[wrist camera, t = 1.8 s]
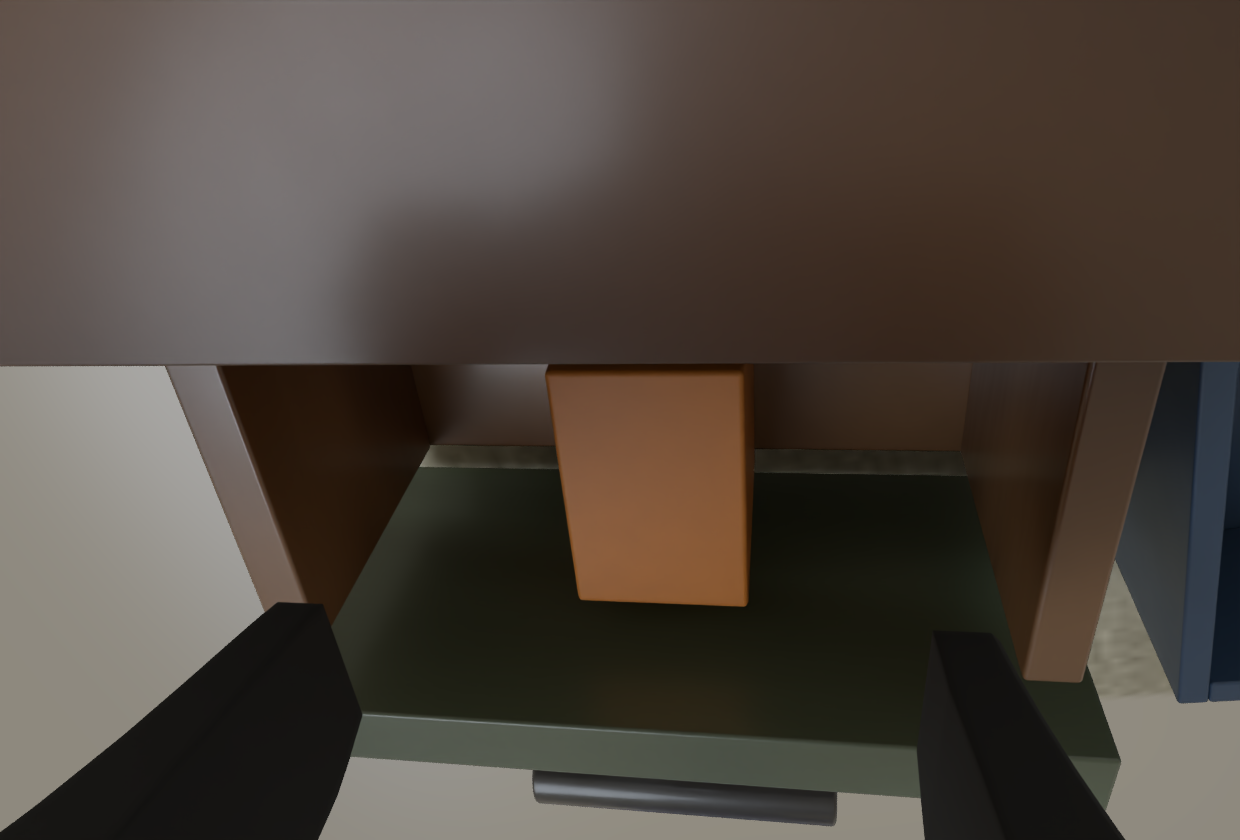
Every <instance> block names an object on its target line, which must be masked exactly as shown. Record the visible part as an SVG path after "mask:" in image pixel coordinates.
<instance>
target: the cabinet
mask: <svg viewBox="0 0 1240 840" xmlns="http://www.w3.org/2000/svg"><path fill="white" fill-rule="evenodd" d="M1077 362H1240V0H0V366H226V365H509V364H793V363H1077Z"/></svg>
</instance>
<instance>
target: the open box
mask: <svg viewBox="0 0 1240 840" xmlns="http://www.w3.org/2000/svg"><path fill="white" fill-rule="evenodd" d="M1115 560H1116V562H1117V564H1118V567H1119V569H1120V571H1121V574H1122V576H1123V578H1124V580H1125V583H1126V585H1127V587H1128V590H1129V592H1130V594H1131V596H1132V599H1133V601H1134V603H1135V606H1136V608H1137V610H1138V612H1139V615H1140V617H1141V619H1142V621H1143V624H1144V626H1145V628H1146V631H1147V633H1148V635H1149V637H1150V640H1151V642H1152V644H1153V647H1154V649H1155V651H1156V653H1157V656H1158V658H1159V660H1160V662H1161V665H1162V667H1163V669H1164V672H1165V674H1166V676H1167V678H1168V681H1169V683H1170V685H1171V688H1172V690H1173V692H1174V694H1175V697H1176V699H1177V701H1178V702H1179V703H1198V702H1207V701H1208V699H1209V700H1210V701H1212V702H1217V701H1235V700H1240V362H1167V365H1166V368H1165V372H1164V376H1163V380H1162V383H1161V387H1160V391H1159V395H1158V398H1157V402H1156V406H1155V410H1154V413H1153V417H1152V421H1151V425H1150V428H1149V432H1148V436H1147V440H1146V443H1145V447H1144V451H1143V455H1142V458H1141V462H1140V466H1139V470H1138V473H1137V477H1136V481H1135V485H1134V489H1133V492H1132V496H1131V500H1130V504H1129V507H1128V511H1127V515H1126V519H1125V522H1124V526H1123V530H1122V534H1121V537H1120V541H1119V545H1118V549H1117V552H1116V556H1115Z"/></svg>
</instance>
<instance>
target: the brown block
mask: <svg viewBox="0 0 1240 840" xmlns="http://www.w3.org/2000/svg"><path fill="white" fill-rule="evenodd" d="M545 380H546V386H547V393H548V399H549V406H550V413H551V419H552V426H553V432H554V439H555V446H556V452H557V459H558V465H559V472H560V478H561V485H562V492H563V498H564V505H565V511H566V518H567V525H568V531H569V538H570V544H571V551H572V557H573V564H574V571H575V577H576V584H577V590H578V596H579V598H580V599H581V600H591V601H615V602H640V603H665V604H690V605H714V606H739V607H744V606H746V605H747V603H748V602H749V579H750V556H751V534H752V511H753V488H754V465H755V448H754V364H549V365H548V367H547V369H546V372H545Z"/></svg>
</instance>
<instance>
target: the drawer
mask: <svg viewBox="0 0 1240 840" xmlns="http://www.w3.org/2000/svg"><path fill="white" fill-rule="evenodd" d="M548 365H549V364H509V365H226V366H165V367H166V370H167V372H168V374H169V377H170V380H171V382H172V385H173V387H174V389H175V392H176V394H177V397H178V399H179V402H180V404H181V407H182V409H183V411H184V414H185V417H186V419H187V422H188V424H189V426H190V429H191V431H192V434H193V436H194V439H195V441H196V444H197V446H198V449H199V451H200V454H201V456H202V459H203V461H204V463H205V466H206V468H207V471H208V473H209V476H210V478H211V481H212V483H213V486H214V488H215V491H216V493H217V496H218V498H219V500H220V503H221V505H222V508H223V510H224V513H225V515H226V518H227V520H228V523H229V525H230V528H231V530H232V532H233V535H234V537H235V540H236V542H237V545H238V547H239V550H240V552H241V555H242V557H243V560H244V562H245V564H246V567H247V569H248V571H249V574H250V577H251V579H252V582H253V584H254V587H255V589H256V592H257V594H258V596H259V599H260V601H261V604H262V606H263V609H264V611H265V612H266V611H267V610H268V609H270V608H271V607H272V606H273V605H274V604H276V603H277V602H291V603H314V604H323V605H324V608H325V611H326V614H327V617H328V619H329V622H330V625H331V628H332V631H333V633H334V636H335V639H336V642H337V644H338V647H339V650H340V653H341V656H342V658H343V661H344V664H345V667H346V670H347V672H348V675H349V678H350V681H351V683H352V686H353V689H354V692H355V695H356V697H357V700H358V703H359V706H360V709H361V711H362V714H363V715H362V719H361V722H360V726H359V729H358V732H357V736H356V739H355V742H354V746H353V749H352V753H351V756H350V757H364V758H377V759H391V760H405V761H418V762H432V763H447V764H459V765H473V766H487V767H502V768H515V769H528V770H533V776H532V777H533V778H532V781H533V792H534V797H535V799H536V801H537V802H538V803H544V804H557V805H571V806H582V807H594V808H595V807H596V808H607V809H620V810H633V811H645V812H658V813H670V814H671V813H672V814H683V815H696V816H708V817H722V818H734V819H746V820H759V821H773V822H784V823H798V824H810V825H822V826H834V825H835V823H836V818H837V792H845V793H858V794H872V795H885V796H899V797H912V798H921V795H920V783H919V772H918V760H917V744H918V736H919V729H920V721H921V714H922V706H923V699H924V691H925V684H926V677H927V669H928V662H929V654H930V647H931V639H932V632H933V630H938V631H961V632H984V633H992V634H993V635H994V636H995V637H996V638H997V639H998V640H999V641H1000V642H1001V644H1002V646H1003V647H1004V649H1005V651H1006V653H1007V655H1008V657H1009V659H1010V661H1011V662H1012V664H1013V666H1014V668H1015V670H1016V671H1017V673H1018V675H1019V677H1020V678H1021V680H1022V682H1023V684H1024V685H1025V687H1026V689H1027V691H1028V692H1029V694H1030V696H1031V697H1032V699H1033V701H1034V702H1035V704H1036V706H1037V707H1038V709H1039V711H1040V712H1041V714H1042V716H1043V717H1044V719H1045V720H1046V722H1047V724H1048V725H1049V727H1050V729H1051V730H1052V732H1053V733H1054V735H1055V737H1056V738H1057V740H1058V741H1059V743H1060V745H1061V746H1062V748H1063V749H1064V751H1065V752H1066V754H1067V755H1068V757H1069V758H1070V760H1071V761H1072V763H1073V765H1074V766H1075V768H1076V769H1077V771H1078V772H1079V774H1080V775H1081V777H1082V778H1083V779H1084V781H1085V782H1086V784H1087V785H1088V787H1089V788H1090V790H1091V791H1092V793H1093V794H1094V795H1095V797H1096V798H1097V800H1098V801H1099V803H1100V804H1101V806H1102V807H1103V809H1104V810H1106V808H1107V805H1108V802H1109V799H1110V795H1111V792H1112V789H1113V786H1114V783H1115V780H1116V777H1117V774H1118V770H1119V767H1120V764H1121V759H1120V756H1119V754H1118V751H1117V748H1116V745H1115V743H1114V739H1113V737H1112V734H1111V731H1110V728H1109V725H1108V722H1107V720H1106V717H1105V714H1104V711H1103V708H1102V705H1101V703H1100V700H1099V697H1098V694H1097V691H1096V688H1095V686H1094V683H1093V680H1092V677H1091V674H1090V671H1089V669H1088V666H1087V661H1088V658H1089V654H1090V650H1091V646H1092V643H1093V639H1094V635H1095V631H1096V628H1097V624H1098V620H1099V616H1100V612H1101V609H1102V605H1103V601H1104V597H1105V594H1106V590H1107V586H1108V582H1109V579H1110V575H1111V571H1112V567H1113V564H1114V560H1115V556H1116V552H1117V549H1118V545H1119V541H1120V537H1121V534H1122V530H1123V526H1124V522H1125V519H1126V515H1127V511H1128V507H1129V504H1130V500H1131V496H1132V492H1133V489H1134V485H1135V481H1136V477H1137V473H1138V470H1139V466H1140V462H1141V458H1142V455H1143V451H1144V447H1145V443H1146V440H1147V436H1148V432H1149V428H1150V425H1151V421H1152V417H1153V413H1154V410H1155V406H1156V402H1157V398H1158V395H1159V391H1160V387H1161V383H1162V380H1163V376H1164V372H1165V368H1166V365H1167V362H1077V363H793V364H754V448H755V449H809V450H893V451H961V455H962V458H963V462H964V466H965V469H966V473H967V476H941V475H879V474H818V473H756V472H754V488H753V511H752V534H751V556H750V579H749V602H748V603H747V605H746V606H744V607H739V606H714V605H690V604H665V603H640V602H615V601H591V600H581V599H580V598H579V596H578V590H577V584H576V577H575V571H574V564H573V557H572V551H571V544H570V538H569V531H568V525H567V518H566V511H565V505H564V498H563V492H562V485H561V478H560V472H559V469H508V468H446V467H419V466H420V464H421V463H422V461H423V459H424V457H425V455H426V454H427V452H428V450H429V448H430V445H473V446H555V439H554V432H553V426H552V419H551V413H550V406H549V399H548V393H547V386H546V380H545V372H546V369H547V367H548Z"/></svg>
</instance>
